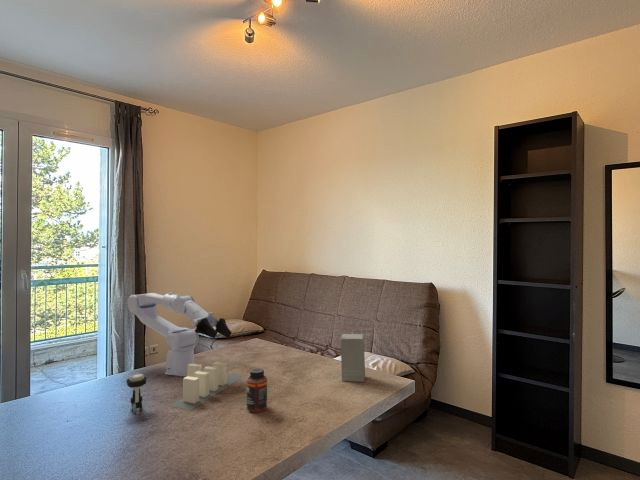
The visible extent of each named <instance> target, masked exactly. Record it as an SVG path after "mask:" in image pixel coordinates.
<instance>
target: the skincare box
mask: <svg viewBox="0 0 640 480" xmlns="http://www.w3.org/2000/svg"><path fill="white" fill-rule="evenodd" d="M339 340H340V358H341V359H340V360H341V362H340V364H341V382H353V383H357V382H358V383H359V382H360V383H361V382H362V383H364V382H365V378H366V360H365V358H366V357H365V335H364V334H363V333H361V334H360V333H355V334H354V333H343V334H341V337H340V339H339Z"/></svg>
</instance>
